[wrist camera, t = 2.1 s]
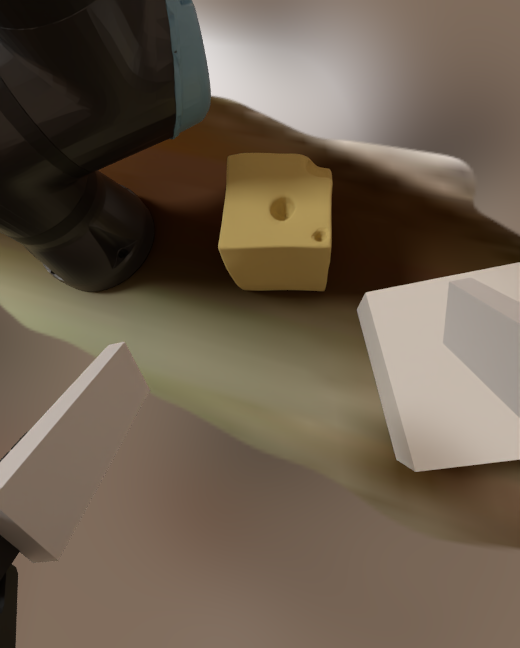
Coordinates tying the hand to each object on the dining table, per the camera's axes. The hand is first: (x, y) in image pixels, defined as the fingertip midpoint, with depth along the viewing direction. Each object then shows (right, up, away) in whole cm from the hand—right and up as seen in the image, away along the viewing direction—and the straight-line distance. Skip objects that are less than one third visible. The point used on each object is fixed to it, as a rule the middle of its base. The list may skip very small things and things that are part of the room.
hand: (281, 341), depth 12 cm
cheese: (+2, +9, +22) cm, 24 cm away
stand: (+18, -3, +16) cm, 24 cm away
